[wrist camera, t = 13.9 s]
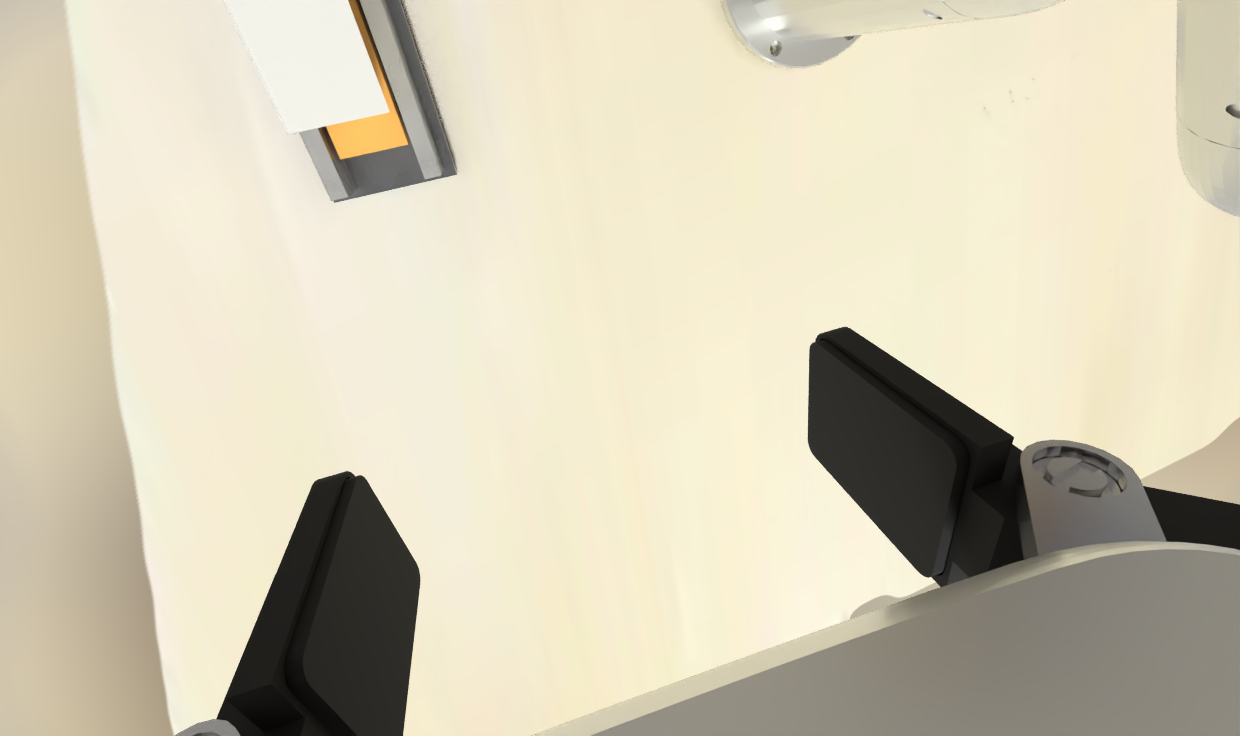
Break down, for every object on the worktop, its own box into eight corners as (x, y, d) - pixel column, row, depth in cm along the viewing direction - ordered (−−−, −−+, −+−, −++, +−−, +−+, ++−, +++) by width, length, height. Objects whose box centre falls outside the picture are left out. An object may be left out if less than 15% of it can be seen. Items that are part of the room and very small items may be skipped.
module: (322, -49, 26) (302, -121, 18) (382, 110, 29) (389, 112, 21) (235, -38, 25) (171, -108, 17) (309, 126, 28) (287, 134, 20)
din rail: (352, -147, 26) (334, -179, 23) (457, 172, 35) (455, 181, 32) (189, -123, 26) (148, -151, 22) (338, 199, 34) (323, 212, 31)
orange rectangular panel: (325, -90, 26) (319, -96, 25) (410, 142, 31) (408, 144, 31) (243, -76, 25) (234, -82, 24) (344, 157, 31) (340, 159, 30)
